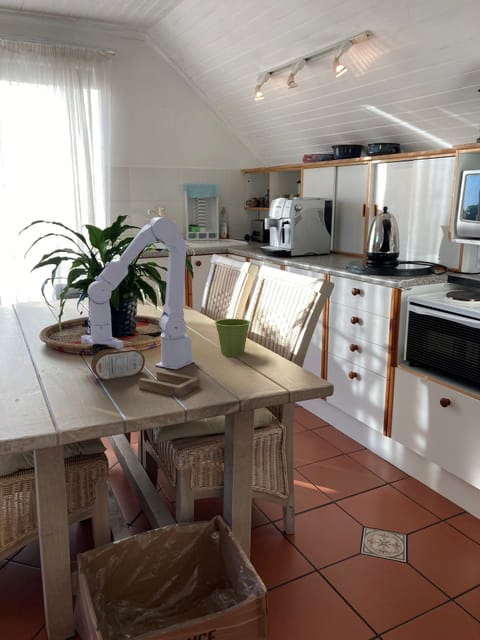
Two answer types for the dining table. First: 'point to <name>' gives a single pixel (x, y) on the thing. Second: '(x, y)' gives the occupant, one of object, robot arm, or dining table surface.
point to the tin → (117, 363)
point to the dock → (181, 388)
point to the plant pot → (232, 336)
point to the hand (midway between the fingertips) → (103, 369)
